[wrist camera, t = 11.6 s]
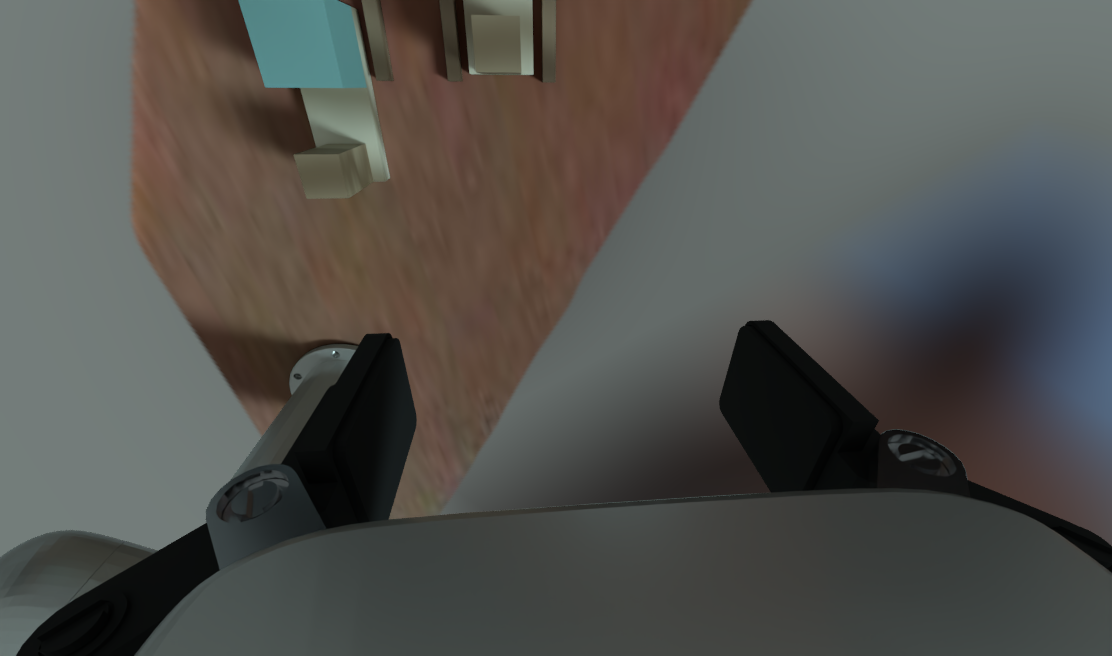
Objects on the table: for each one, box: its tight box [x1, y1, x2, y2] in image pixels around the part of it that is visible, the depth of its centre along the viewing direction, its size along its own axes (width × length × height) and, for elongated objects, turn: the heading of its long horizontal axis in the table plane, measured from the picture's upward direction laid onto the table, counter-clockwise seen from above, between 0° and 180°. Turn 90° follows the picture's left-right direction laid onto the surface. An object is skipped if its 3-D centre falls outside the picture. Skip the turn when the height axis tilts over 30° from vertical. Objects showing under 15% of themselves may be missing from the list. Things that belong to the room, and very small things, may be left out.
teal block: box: [238, 0, 367, 88], centre depth 28 cm, size 5×5×5 cm
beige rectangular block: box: [463, 0, 534, 75], centre depth 29 cm, size 5×5×8 cm
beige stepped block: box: [293, 7, 390, 199], centre depth 30 cm, size 12×5×8 cm, turn 179°
